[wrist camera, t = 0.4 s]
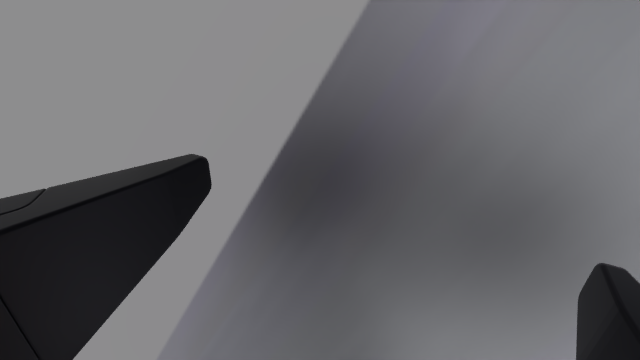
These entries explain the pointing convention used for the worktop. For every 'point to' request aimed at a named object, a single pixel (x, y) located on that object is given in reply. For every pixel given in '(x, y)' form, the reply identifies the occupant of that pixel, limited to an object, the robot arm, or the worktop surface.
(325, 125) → the worktop surface
